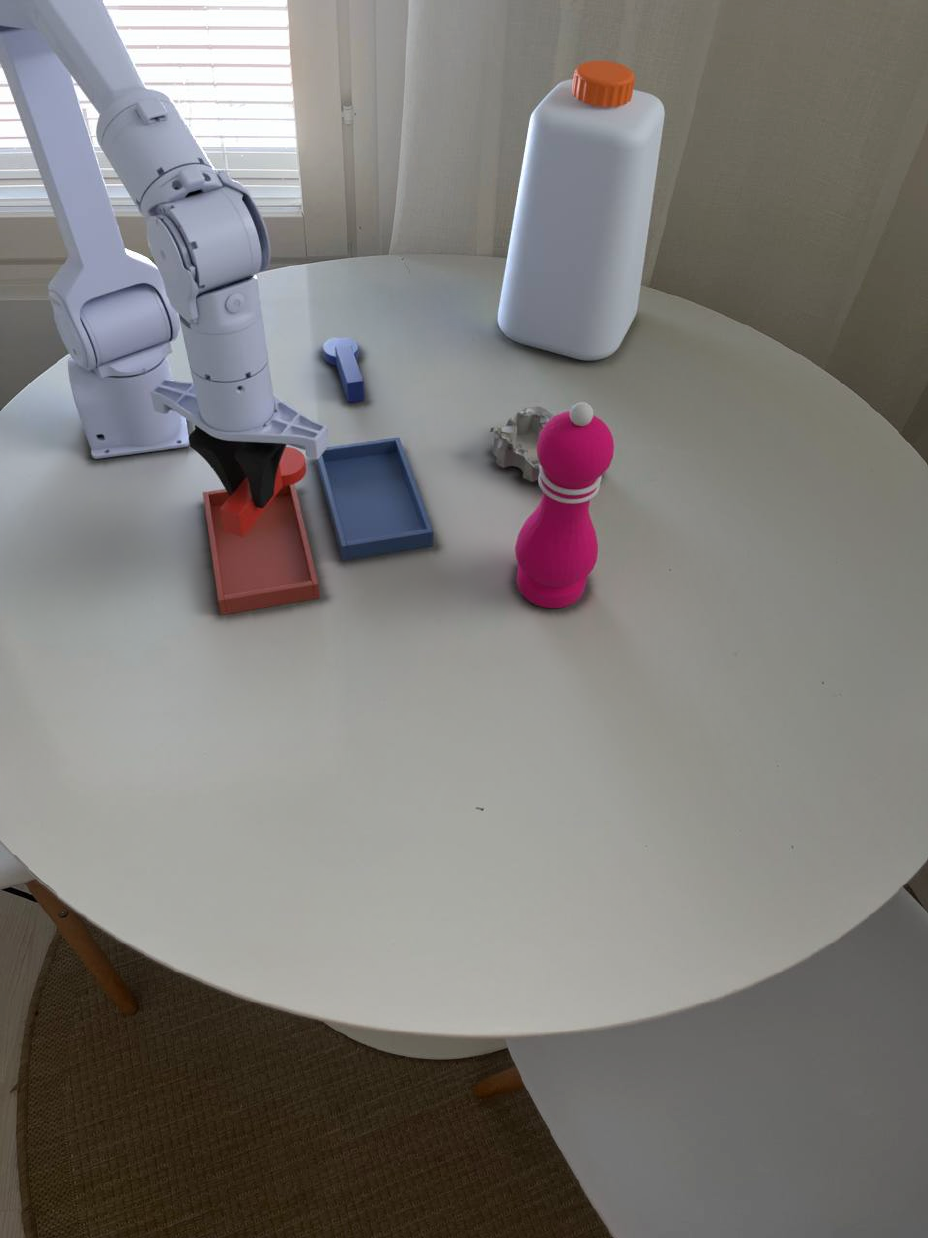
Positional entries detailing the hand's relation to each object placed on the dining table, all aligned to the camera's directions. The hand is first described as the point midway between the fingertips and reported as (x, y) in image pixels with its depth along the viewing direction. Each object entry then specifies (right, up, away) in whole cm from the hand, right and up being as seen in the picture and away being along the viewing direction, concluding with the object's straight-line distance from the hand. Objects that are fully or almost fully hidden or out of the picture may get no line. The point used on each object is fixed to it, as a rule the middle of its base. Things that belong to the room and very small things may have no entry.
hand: (252, 496), depth 77 cm
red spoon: (0, 0, +2) cm, 2 cm away
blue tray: (+9, +1, +11) cm, 15 cm away
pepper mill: (+26, -7, +6) cm, 28 cm away
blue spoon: (+5, +17, +24) cm, 30 cm away
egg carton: (+26, +6, +17) cm, 32 cm away
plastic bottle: (+31, +26, +33) cm, 52 cm away
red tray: (-1, -4, +7) cm, 8 cm away
